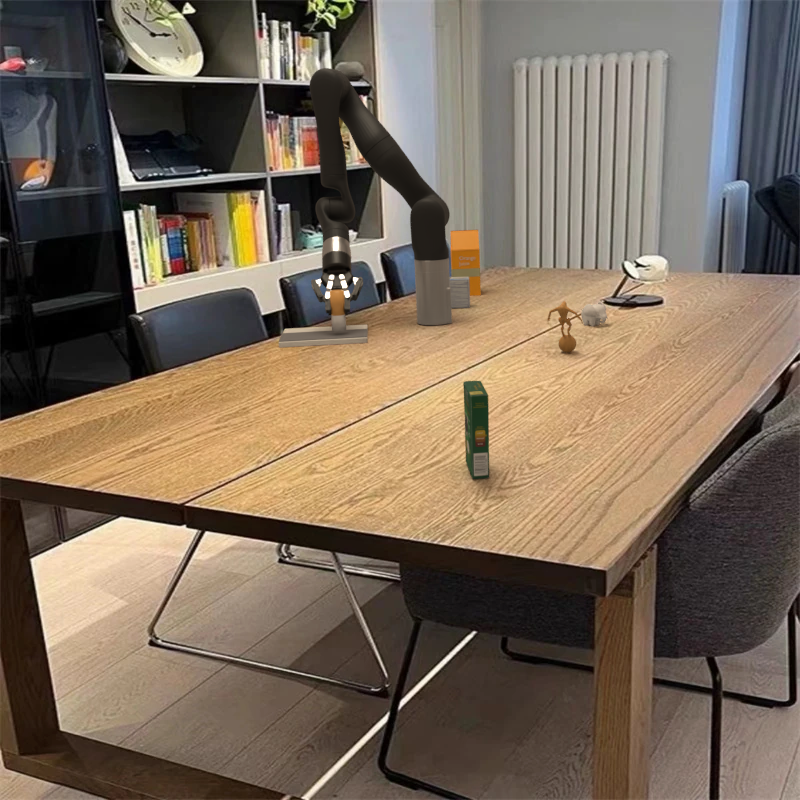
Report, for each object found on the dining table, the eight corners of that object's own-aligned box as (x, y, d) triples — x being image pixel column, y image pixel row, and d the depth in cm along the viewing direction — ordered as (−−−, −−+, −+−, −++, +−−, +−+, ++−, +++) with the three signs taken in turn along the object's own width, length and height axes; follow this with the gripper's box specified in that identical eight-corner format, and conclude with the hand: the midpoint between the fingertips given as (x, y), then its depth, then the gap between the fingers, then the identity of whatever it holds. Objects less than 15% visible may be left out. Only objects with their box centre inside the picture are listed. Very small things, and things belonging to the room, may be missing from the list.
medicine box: (470, 305, 284) (469, 276, 282) (469, 308, 280) (469, 278, 277) (443, 306, 285) (442, 277, 283) (442, 309, 281) (441, 279, 278)
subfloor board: (367, 328, 257) (367, 323, 256) (367, 342, 239) (367, 337, 239) (285, 333, 256) (284, 328, 256) (278, 347, 239) (278, 341, 239)
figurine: (588, 351, 218) (588, 299, 215) (578, 357, 213) (578, 303, 210) (553, 349, 222) (553, 297, 219) (543, 354, 218) (542, 302, 214)
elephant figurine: (597, 329, 242) (597, 305, 240) (572, 325, 248) (572, 302, 246) (614, 325, 246) (614, 301, 245) (589, 321, 252) (589, 299, 251)
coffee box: (491, 479, 141) (489, 393, 138) (471, 480, 141) (469, 394, 138) (483, 461, 149) (481, 379, 146) (465, 462, 149) (462, 380, 145)
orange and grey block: (346, 328, 246) (344, 289, 244) (346, 330, 243) (343, 291, 240) (332, 328, 246) (329, 290, 243) (331, 331, 243) (329, 292, 240)
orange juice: (480, 295, 301) (479, 230, 295) (452, 296, 301) (450, 232, 296) (479, 291, 308) (477, 228, 303) (451, 292, 308) (449, 229, 303)
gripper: (308, 251, 247) (308, 306, 239) (363, 248, 248) (365, 303, 239) (310, 269, 254) (311, 323, 245) (364, 266, 254) (366, 320, 246)
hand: (338, 312), depth 242 cm, fingers closed on orange and grey block, 3 cm apart
